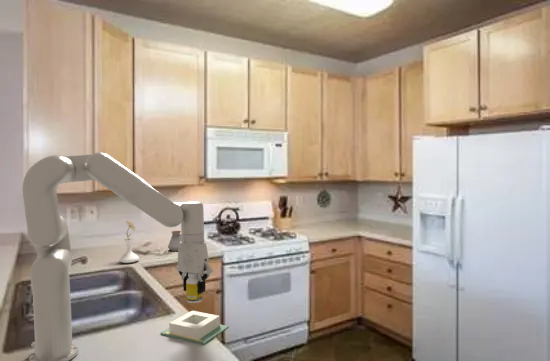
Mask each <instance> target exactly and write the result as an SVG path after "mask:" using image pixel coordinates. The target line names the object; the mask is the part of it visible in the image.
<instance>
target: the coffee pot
mask: <svg viewBox="0 0 550 361" xmlns="http://www.w3.org/2000/svg"><path fill="white" fill-rule="evenodd" d="M180 234H181V230H172V231H171V237H170V240H169V242H168V245H167V248H168V249H169V251H170V252H178V250H179V244H180V242H182V238H180Z"/></svg>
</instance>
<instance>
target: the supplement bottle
mask: <svg viewBox="0 0 550 361" xmlns="http://www.w3.org/2000/svg"><path fill="white" fill-rule="evenodd" d="M188 277H189V278H188V279H187V280H186V291H185V292H186V302H187V303H189V304H195V303H196V304H197V303H201V302H202V301H203V296H204V295H203V293H204V292H202V293H200V294H199V293H198V282H199V278H198V275H197V274H194V273H188Z"/></svg>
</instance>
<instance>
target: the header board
mask: <svg viewBox="0 0 550 361" xmlns="http://www.w3.org/2000/svg"><path fill="white" fill-rule="evenodd" d="M220 318H221V317H220V315H217V314H212V313H207V312H201V311H197V310H191V311H189V312H187V313H184V314H183V315H181V316H179V317H178V318H176V319H174V320H172V321H170V322H169V323H168V328H166V329H165V330H163V331H161V332H160V335H161V336H165V337H169V338H174V339H177V340H182V341H187V342H190V343H194V344H199V345H203V346H204V345H206V344H208V343H209V342H211V341H212V340H213V339H215V338H216V337H218V336H219V335H221V334H222V333H224V332H225V331H226V330H228V329H229V327H230V326H229V325H225V324H221V319H220Z"/></svg>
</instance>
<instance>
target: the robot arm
mask: <svg viewBox="0 0 550 361" xmlns="http://www.w3.org/2000/svg"><path fill="white" fill-rule="evenodd" d="M23 178H24V179H23V182H22V198H23V205H24V206H23V207H24V215H25V222H26V230H27V231H26V232H27V237H28V240H29V241H30V243H31V244H32V246H33V245H34V246H35V250H36V258H35V259H34V261H33V263H32V265H31V268H30V283H31V290H32V302H33V303H32V306H33V308H32V309H33V324H34V325H33V327H34V328H33V329H34V341H32V342H31V345H30V346H31V347H33V348H34V353H32V355H30V357H29V358H28V361H70V360H72V359H73V358H75V357H76V356H77V355H78V354H79V347H78V346H77V345H76V344H73V331H72V330H73V328H72V304H71V284H70V269H71V266H72V263H73V254H72V248H71V246H72V245H71V242H70V241H71V240H70V234H69V226H68V223H67V221H66V219H65V218H64V217H63V216H62V215H61V214H60V207H59V200H58V194H57V189H58V187H59V185H63V184H67V183H75V182H76V183H77V182H86V181H95V182H96V183H99V185H101V186H103V187H104V188H106V189H108V190H110V191H111V192H112V193H113V194H115V195H116V196H118V197H119V198H120V199H122V200H123V201H125V202H127V203H128V204H130V205H131V206H134V208H137V209H139V210H140V211H142V212H144V213H145V214H146V215H148V216H149V217H151V218H152V219H153V220H155V221H156V222H158V223H160V224H161V225H162V226H164V227H167V228H176V227H178V226H180V231H181V232H180V238H182V242H180V244H179V250H178V251H177V265H176V266H175V270H177V272H178V274H179V275H180V277H181V280H182V282H183V283H182V284H183V291H184V292H186V280H187V279H188V278H189V277H188V273H194V274H197V275H198V278H199V282H198V293H199V294H200V293H204V292H206V280H207V279H208V278H209V277H210V275H212V273H213V272H214V270H213V268H212V267H211V266H210V264H209V253H208V246H207V242H206V241H205V222H204V221H205V220H204V216H205V215H204V205H203V203H202V202H201V201H197V200H196V201H184V202H174V201H172V200H171V199H169V197H166V196H165V195H164V194H162V193H161V192H160V191H159V190H157V189H155V188H154V187H152V185H151V184H149V183H148V182H146V180H144V179H143V178H141V177H140V176H139V175H138V174H136V173H134V172H133V171H132V170H130V168H128V167H126V166H124V165H123V164H121V162H119V161H117V160H116V159H114V158H113V157H112V156H110V155H109V154H107V153H104V152H101V151H100V152H94V153H92V154H80V155H66V156H63V155H57V154H55V155H48V156H46V157H44V158H42V159H40V160H38V161H37V162H35V163H34V164H32V166H31V167H30V168H29V169H28V170H27V172H26V173H25V175H24V177H23Z"/></svg>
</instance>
